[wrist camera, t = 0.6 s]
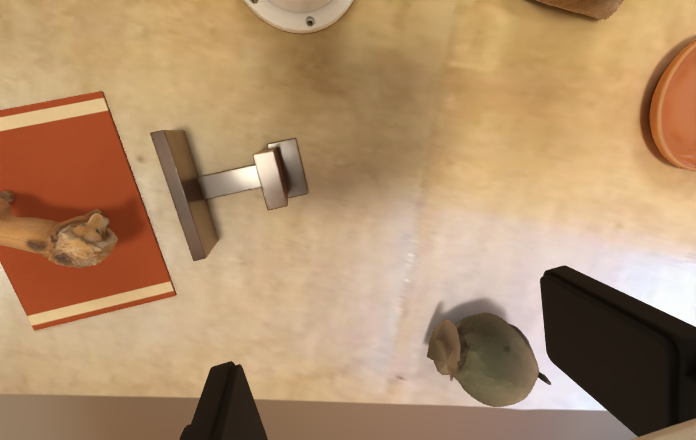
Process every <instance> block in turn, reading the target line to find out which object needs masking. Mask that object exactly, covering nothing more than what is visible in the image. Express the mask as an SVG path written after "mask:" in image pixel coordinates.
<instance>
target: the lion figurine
mask: <svg viewBox="0 0 696 440" xmlns="http://www.w3.org/2000/svg"><path fill="white" fill-rule="evenodd" d="M13 200H14V195H13V193H12V192H10V191H0V245H2V246H8V247H12V248H16V249H20V250H24V251H28V252H33V253H38V254H42V256H43V257H45V258H48V260H49V261H51V262H55V264H58V265H61V266H67V267H74V268H75V267H77V268H83V267H86V266H91V265H96V264H97V263H101V261H102V260H104V259H105V258H107V257H108V256H109V255H110V253H111V251H112V250H113V249H114V247H115V245H116V244H117V240H118V238H117V236H116V235H115V233H114V232H112V231H111V230H110V229H109V228H108V225H109V219H108V218H106V217H104V216H105V215H104V214H103V212H102V211H101V210H100V209H96V210H93V211H91V212H89V213H87V214H86V215H84V216H77V217H74V218H72V219H69V220H67V221H64V222H61V223H59V222H55V221H51V220H46V219H41V218H33V217H15V216H13V215H12V212H11V207H10V205H9V203H8V202H12V201H13Z"/></svg>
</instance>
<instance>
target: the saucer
mask: <svg viewBox="0 0 696 440" xmlns="http://www.w3.org/2000/svg"><path fill="white" fill-rule="evenodd" d="M650 128H651V133H652V136H653V139H654V142H655V144H656V146H657V148H658V149H659V151H660V152H661V154H662V155H663V156H664V157H665V158H666V159H667V160H668V161H669V162H671V163H672V164H674V165H675V166H677V167H680V168H683V169H687V170H691V171H696V40H695V41H693V42H692V43H690V44H689V45H688V46H687V47H685V48H684V49H683V50H682V51H681V52H680V53H679V54H678V55H677V56H676V57H675V58H674V60H673V61H672V62H671V63H670V65H669V66H668V67H667V69H666V70H665V72H664V73H663V75H662V77H661V78H660V80H659V82H658V84H657V87H656V89H655V91H654V94H653V97H652V101H651V106H650Z"/></svg>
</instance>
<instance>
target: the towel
mask: <svg viewBox="0 0 696 440" xmlns="http://www.w3.org/2000/svg"><path fill="white" fill-rule="evenodd" d="M0 191H10V192H12V193H13V195H14V200H13V201H12V202H8V203H9V205H10V207H11V212H12V215H13V216H15V217H33V218H41V219H46V220H51V221H55V222H59V223H61V222H64V221H67V220H69V219H72V218H74V217H77V216H84V215H86V214H87V213H89V212H91V211H93V210H96V209H100V210H101V211H102V212H103V214H104V215H105V216H104V217H106V218H108V219H109V225H108V228H109V229H110V230H111V231H112V232H114V233H115V235H116V236H117V238H118V240H117V244H116V245H115V247H114V249H113V250H112V251H111V253H110V255H109V256H108V257H107V258H105V259H104V260H102V261H101V263H97V264H96V265H91V266H86V267H83V268H77V267H75V268H74V267H67V266H61V265H58V264H55V262H51V261H49V260H48V258H45V257H43V256H42V254H38V253H33V252H28V251H24V250H20V249H16V248H12V247H8V246H2V245H0V262H1V264H2V266H3V268H4V270H5V272H6V274H7V276H8V278H9V280H10V282H11V284H12V286H13V288H14V290H15V292H16V294H17V296H18V298H19V301H20V303H21V305H22V307H23V309H24V311H25V313H26V315H27V317H28V319H29V321H30V323H31V325H32V327H33V329H34V331H35V330H39V329H43V328H47V327H51V326H55V325H59V324H63V323H67V322H71V321H75V320H79V319H83V318H87V317H91V316H95V315H99V314H103V313H107V312H111V311H116V310H120V309H124V308H128V307H132V306H136V305H140V304H144V303H148V302H152V301H156V300H160V299H164V298H168V297H172V296H176V292H175V289H174V287H173V284H172V281H171V278H170V276H169V273H168V270H167V267H166V265H165V262H164V259H163V256H162V254H161V251H160V248H159V245H158V243H157V240H156V237H155V234H154V232H153V229H152V226H151V223H150V221H149V218H148V215H147V212H146V210H145V207H144V204H143V201H142V199H141V196H140V193H139V190H138V188H137V185H136V182H135V179H134V177H133V174H132V171H131V168H130V166H129V163H128V160H127V157H126V155H125V152H124V149H123V146H122V144H121V141H120V138H119V135H118V133H117V130H116V127H115V124H114V122H113V119H112V116H111V113H110V111H109V108H108V105H107V102H106V100H105V97H104V94H103V92H102V91H100V92H95V93H90V94H84V95H79V96H74V97H68V98H63V99H58V100H52V101H47V102H42V103H37V104H31V105H26V106H21V107H15V108H10V109H5V110H0Z"/></svg>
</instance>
